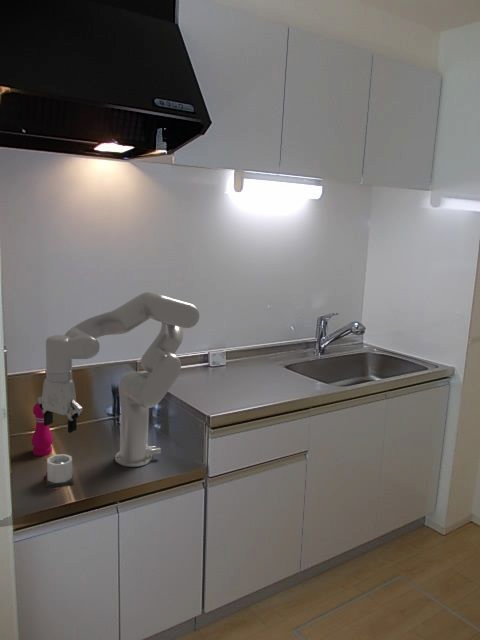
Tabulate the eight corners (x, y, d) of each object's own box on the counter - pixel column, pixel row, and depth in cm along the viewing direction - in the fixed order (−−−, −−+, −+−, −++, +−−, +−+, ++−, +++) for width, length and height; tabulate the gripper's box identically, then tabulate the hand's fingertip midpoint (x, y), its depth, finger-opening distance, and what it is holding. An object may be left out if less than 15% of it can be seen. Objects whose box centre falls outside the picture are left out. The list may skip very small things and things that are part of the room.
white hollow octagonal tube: (59, 469, 180) (59, 452, 179) (76, 475, 177) (76, 458, 176) (42, 478, 174) (42, 461, 173) (60, 484, 171) (60, 467, 170)
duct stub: (71, 472, 181) (72, 455, 180) (73, 484, 173) (73, 467, 172) (46, 475, 178) (46, 458, 177) (46, 487, 171) (46, 469, 169)
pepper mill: (57, 449, 196) (57, 396, 192) (44, 458, 189) (44, 403, 185) (40, 446, 198) (39, 393, 194) (27, 454, 191) (26, 400, 187)
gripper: (28, 373, 169) (30, 425, 172) (72, 384, 162) (73, 438, 165) (47, 367, 175) (48, 418, 179) (89, 377, 168) (90, 429, 172)
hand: (60, 427), depth 172 cm, fingers open, 9 cm apart
